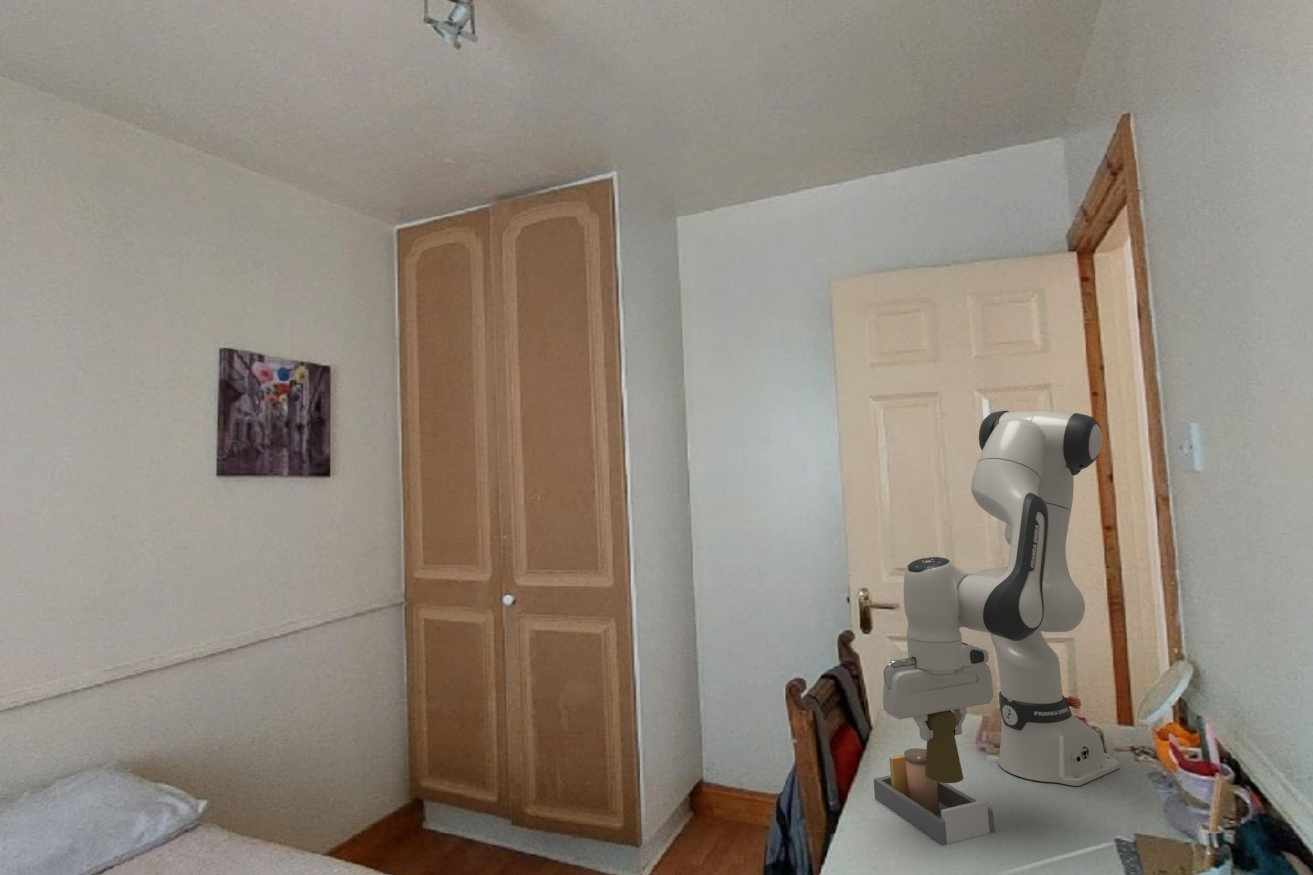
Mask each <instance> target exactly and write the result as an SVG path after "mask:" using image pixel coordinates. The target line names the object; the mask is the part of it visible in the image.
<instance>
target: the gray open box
mask: <svg viewBox="0 0 1313 875" xmlns="http://www.w3.org/2000/svg"><path fill="white" fill-rule="evenodd" d="M937 787H938V798H939V810H940V812H939V814H937V815H934V814H933V813H931V812H930V811H928V810H927V809H925V808H923V807H922V806H920V805H919V804H917V803H916V802H914V801H913V800H911V799H910V798H908V797H907V796H905V795H904V794H902V793H900V792H899V791H897V790H896V789H894V788H893V787H892V786H891V774H890V775H884V776H880V777H876V778H873V789H874V790H873V791H874V799H875V800H876V801H878V802H879V803H881V805H883V806H885V807H886V808H887V809H889V810H890V811H892V812H893V813H895V814H896V815H898V816H899V817H901V818H902V819H904V820H905V821H906V822H908V823H909V824H910V825H912V826H913V827H915V828H916V829H918V830H919V831H920V832H922V833H923V834H925V835H926V836H927V837H929V838H930V839H931V840H933V841H935V842H936V843H937V844H939V845H940V846H946V845H950V844H954V843H958V842H962V841H965V840H969V839H973V838H977V837H982V836H985V835H989V834H993V833H995V821H994V820H995V819H994V810H993V809H991V808H990V807H988V801H986V800H985V799H982V800H981V799H980V800H976V799H974V798H973V797H971V796H969V795H967V794H966V793H964V792H962V791H961V790H959V789H957V788H956V787H953V785H950V784H949V783H941V782H937Z"/></svg>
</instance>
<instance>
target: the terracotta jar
mask: <svg viewBox="0 0 1313 875" xmlns="http://www.w3.org/2000/svg"><path fill="white" fill-rule="evenodd" d="M926 750H927V748H926V749H925V748H917V747H916V748H909V749H907V750H905V751H904V752H903V753H904V754H903V755H905V760H906V772H907V784H908V796H909V798H910V799H911V800H913V801H914V802H916V803H917V804H919V805H920V806H922V807H923V808H925V809H927V810H928V811H930V812H931V813H933V814H934V815H937V814H939V812H940V810H939V798H938V787H937V781H934V780H931V779H929V778H928V777H927V776H926V775H925V767H926Z"/></svg>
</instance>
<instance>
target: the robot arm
mask: <svg viewBox="0 0 1313 875" xmlns="http://www.w3.org/2000/svg"><path fill="white" fill-rule="evenodd" d="M978 443H979V448H980V450H981V453H980V454H979V455H980V456H979V458H978V461H977V462H976V467H975V468H974V471H973V475H972V479H971V484H970V485H971V489H970V490H971V493H972V496H973V499H974V500H975V502H976V504H977V505H978V506H979V507H980V508H981V510H984V511H985V512H986V513H987V514H989V515H991V516H992V517H994V518H996V519H998V520H1000V521H1002V522H1003V523H1006V524H1005V528H1004V538H1005V541H1006V542H1007V544H1009V546H1010V549H1009V555H1008V565H1007V568H1006V567H991V568H986V569H981V570H979V571H977V572H976V573H971V572H968V571H964V570H962V569H960V568H958V567H956V566H955V565H953V563H952V561H951V560H950V559H948V558H946V557H942V556H940V557H939V556H931V557H930V556H929V557H923V558H918V559H915V560H913V561H912V562H910V563H908V565H907V566H906V568H905V570H904V576H903V577H904V578H903V604H904V606H903V607H904V613H905V616H906V618H907V630H906V642H907V643H906V644H907V645H906V646H907V647H906V648H907V657H906V658H902V659H892V660H891V661H889V663H888V664H887V665H886V666H885V668H884V669H883V690H882V691H883V692H882V706H883V710H884V711H885V712H886V714H887V715H889V717H893V718H894V719H897V720H904V719H910V718H912V719H913V721H914V722H915V724H916V725H917V727H918V728H919V736H920V739H922V740H923V741H925V742H927V741H928V740H933V739H934V736H933V734H934V731H933V730H932V729H929V728H928V726H927V725H926V723H925V721H927V720H928V719H927V714H932V713H938V712H944V711H949V710H951V711H952V712H953V713H954V714H955V717H956V727H955V729H954V730H953V731H954V735H955V736H959V735H962V734H963V726H962V725H963V723H964V722H965V721H964V720H965V719H966V716H967V714H968V712H967V708H969V707H975V706H976V707H977V706H982V705H987V704H990V703H991V702H992V700H993V698H994V684H993V677H992V676H993V675H992V671H991V668H990V666H989V665H988V664H987V663H988V662H989V659H990V657H989V652H988V651H987V650H986V649H984V648H980V647H979V646H975V645H971V644H968V643H966V642H963V637H962V633H961V631H960V629H961V628H965V629H968V630H973V631H977V632H982V633H988V634H989V636H990V638H991V641H992V644H993V646H994V650H995V654H996V659H997V660H996V661H997V668H998V677H999V687H1000V691H999V693H998V702H999V704H998V705H999V711H1000V714H1001V725H1000V726H1001V730H1000V731H1001V732H1000V746H999V747H1000V753H999V755H998V759H997V763H998V765H999V767H1001V769H1003V770H1004V771H1006V772H1008V773H1009V774H1011V775H1015V776H1017V777H1020V778H1023V779H1025V780H1026V779H1027V780H1031V781H1032V780H1033V781H1038V782H1045V783H1046V782H1047V783H1058V784H1063V785H1068V786H1073V787H1080V786H1082V785H1085V784H1086V783H1088V782H1091V781H1093V780H1096V779H1098V778H1100V777H1103V776H1104V775H1107V774H1109V773H1112V772H1114V771H1116V770H1118V769H1120V768H1121V765H1120V762H1119V761H1118V760H1117V759H1116V758H1114V757H1113V756H1112V755H1109V754H1108V753H1106V752H1105V750H1104V745H1103V741H1102V739H1101V736H1100V734H1099V733H1098V732H1097V731H1096V730H1095V729H1093V727H1090V726H1089V725H1087V724H1086V723H1085V722H1083V721H1081V719H1079V718H1078V717H1076V716H1075V715H1074V714H1073V712H1072V710H1071V708H1070V707H1072V708H1074V709H1076V710H1079V709H1080V708H1081V706H1082V701H1081V699H1080V698H1077V697H1074V696H1071V695H1069V696H1067V697H1065V696H1064V695H1063V686H1062V684H1063V682H1062V674H1061V664H1060V660H1059V657H1058V654H1057V653H1056V652H1055V650H1054V649H1053V648H1052V647H1051V646H1050V645H1049V644H1048V642H1047V641H1046V639H1045V638H1044V635H1043V633H1042V632H1044V633H1067V632H1070V631H1073V630H1074V629H1076V628H1077V627H1078V626H1079V625H1080V623H1081V622H1082V621H1083V618H1084V616H1085V613H1086V612H1085V610H1086V605H1085V604H1086V603H1085V600H1084V597H1083V596H1084V595H1083V593H1082V592H1081V591H1080V589H1079V588H1078V587H1077V586H1076V584H1075V583H1074V581H1073V579H1072V577H1071V575H1070V572H1069V568H1068V563H1067V555H1066V554H1067V553H1066V549H1067V548H1066V545H1067V537H1068V531H1069V525H1070V524H1069V523H1070V521H1071V520H1070V518H1071V512H1072V507H1073V500H1074V488H1075V487H1074V479H1075V478H1074V476H1076V475H1078V474H1080V473H1081V471H1082V470H1085V469H1087V468H1089V467H1090V466H1091V465H1092V464H1093V463H1094V462H1095V461H1096V460H1097V458H1098V457H1099V455H1100V451H1101V449H1102V447H1103V433H1102V428H1101V425H1100V423H1099V422H1098V421H1097V419H1096V418H1095V417H1093V416H1090V415H1087V414H1083V413H1078V412H1074V413H1068V412H1061V411H1054V410H1053V411H1051V410H1042V409H1041V410H1018V411H1009V410H999V411H993V412H991V413H990V414H988V415H987V416H986V417H985V418H984V419H983V420H982V422H981V425H980V426H979V431H978Z"/></svg>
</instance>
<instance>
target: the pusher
mask: <svg viewBox="0 0 1313 875" xmlns="http://www.w3.org/2000/svg"><path fill="white" fill-rule="evenodd" d="M888 760H889V770H890V771H889V772H890V775H891V786H892V787H893V788H894V789H896V790H897V791H899V792H900V793H902V794H904V795H905V796H907V797H908V798H909V796H908V784H907V772H906V760H905V755H904V754H901V755H895V756H891V757H889V759H888Z"/></svg>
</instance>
